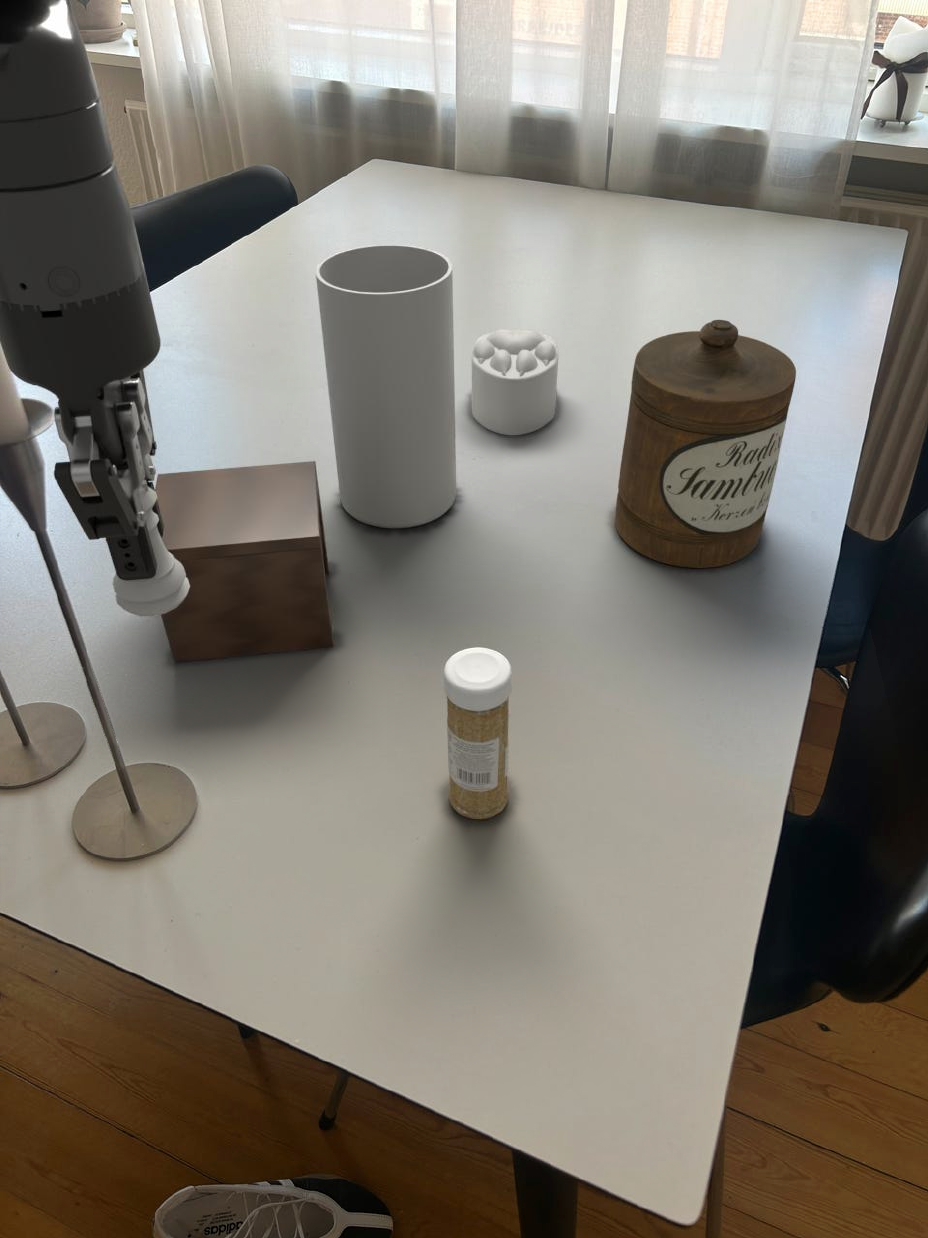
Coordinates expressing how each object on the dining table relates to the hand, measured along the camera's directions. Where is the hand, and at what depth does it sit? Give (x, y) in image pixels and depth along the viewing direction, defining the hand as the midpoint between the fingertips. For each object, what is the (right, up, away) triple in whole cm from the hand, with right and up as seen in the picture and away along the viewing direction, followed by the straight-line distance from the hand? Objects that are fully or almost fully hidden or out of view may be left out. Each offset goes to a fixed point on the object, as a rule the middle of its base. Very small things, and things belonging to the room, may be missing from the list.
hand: (142, 555), depth 58 cm
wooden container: (+42, +6, +42) cm, 60 cm away
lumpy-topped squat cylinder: (+25, +22, +62) cm, 71 cm away
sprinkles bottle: (+20, -17, +15) cm, 31 cm away
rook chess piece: (0, -3, +2) cm, 3 cm away
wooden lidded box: (0, -3, +32) cm, 33 cm away
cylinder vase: (+12, +9, +47) cm, 49 cm away
